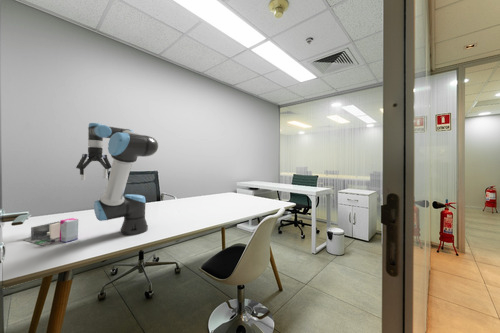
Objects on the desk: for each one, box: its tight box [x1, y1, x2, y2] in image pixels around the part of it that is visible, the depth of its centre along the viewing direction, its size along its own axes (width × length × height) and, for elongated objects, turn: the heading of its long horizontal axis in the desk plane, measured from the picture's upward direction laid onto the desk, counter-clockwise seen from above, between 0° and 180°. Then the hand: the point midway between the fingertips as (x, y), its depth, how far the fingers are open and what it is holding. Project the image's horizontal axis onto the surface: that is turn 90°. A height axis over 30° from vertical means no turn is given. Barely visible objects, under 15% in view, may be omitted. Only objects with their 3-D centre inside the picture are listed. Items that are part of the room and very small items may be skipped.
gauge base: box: [23, 220, 60, 247], centre depth 110 cm, size 18×16×6 cm
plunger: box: [37, 223, 60, 240], centre depth 109 cm, size 8×13×8 cm, turn 161°
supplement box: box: [59, 217, 80, 244], centre depth 108 cm, size 6×6×12 cm
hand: (94, 179), depth 130 cm, fingers open, 13 cm apart
